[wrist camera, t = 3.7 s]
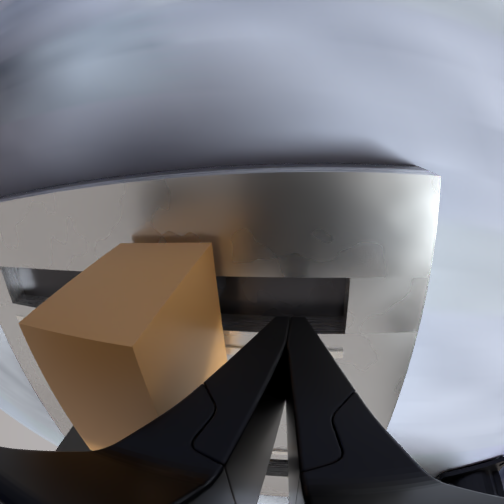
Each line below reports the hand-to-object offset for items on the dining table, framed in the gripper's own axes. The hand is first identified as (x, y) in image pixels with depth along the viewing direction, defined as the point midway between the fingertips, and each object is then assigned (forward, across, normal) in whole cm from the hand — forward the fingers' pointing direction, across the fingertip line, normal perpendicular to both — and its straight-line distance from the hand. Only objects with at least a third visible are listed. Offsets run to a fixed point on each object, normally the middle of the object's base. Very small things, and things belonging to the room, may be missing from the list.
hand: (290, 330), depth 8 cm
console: (+3, +6, +5) cm, 8 cm away
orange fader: (+2, +4, 0) cm, 4 cm away
